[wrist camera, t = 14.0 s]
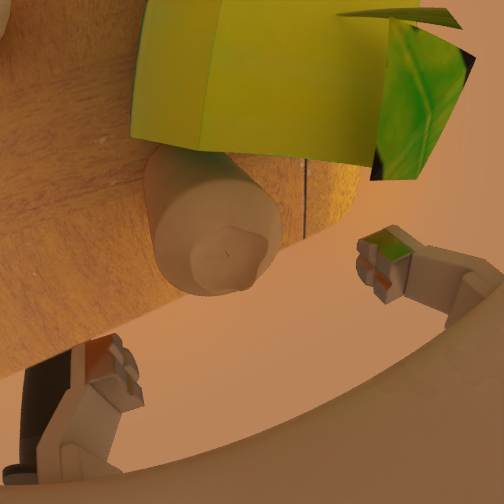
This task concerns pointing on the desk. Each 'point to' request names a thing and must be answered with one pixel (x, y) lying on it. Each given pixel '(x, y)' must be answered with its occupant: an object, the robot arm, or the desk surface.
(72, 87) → the desk surface
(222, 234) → the candle
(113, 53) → the desk surface
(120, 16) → the desk surface
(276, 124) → the apple
